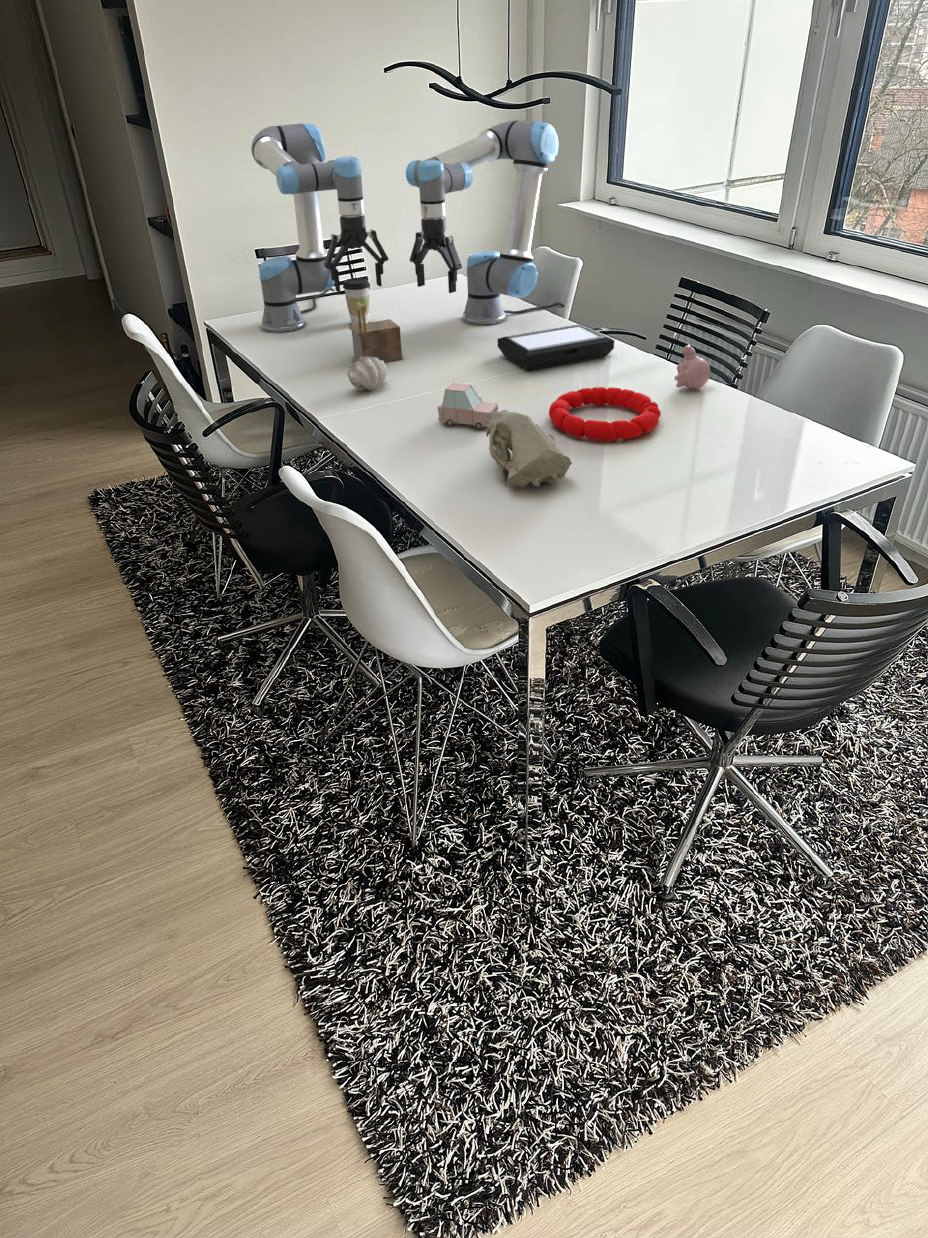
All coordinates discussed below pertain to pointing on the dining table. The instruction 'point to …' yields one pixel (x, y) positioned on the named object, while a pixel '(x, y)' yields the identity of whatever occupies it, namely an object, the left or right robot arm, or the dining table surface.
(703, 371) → the figurine
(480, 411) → the toy car
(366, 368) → the seashell
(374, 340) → the chest
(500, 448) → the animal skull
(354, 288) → the coffee cup
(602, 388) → the decorative ring
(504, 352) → the electronic device
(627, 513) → the dining table surface
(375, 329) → the lid
